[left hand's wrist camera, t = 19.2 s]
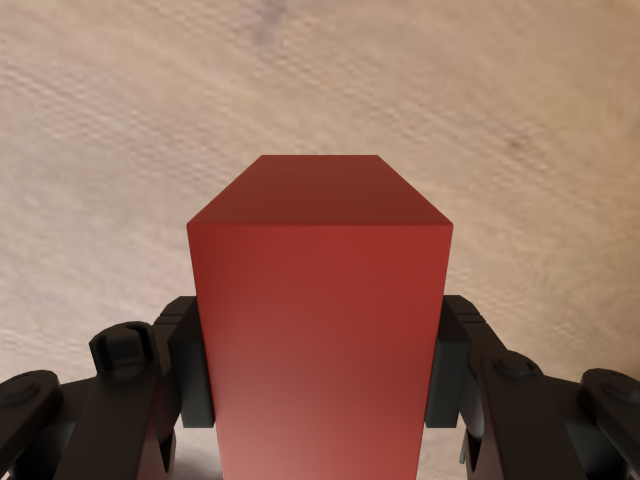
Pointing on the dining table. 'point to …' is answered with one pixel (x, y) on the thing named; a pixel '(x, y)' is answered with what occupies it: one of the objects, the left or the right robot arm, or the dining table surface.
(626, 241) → the dining table surface
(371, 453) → the brick
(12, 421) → the left robot arm
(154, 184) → the dining table surface
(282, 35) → the dining table surface
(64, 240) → the dining table surface
